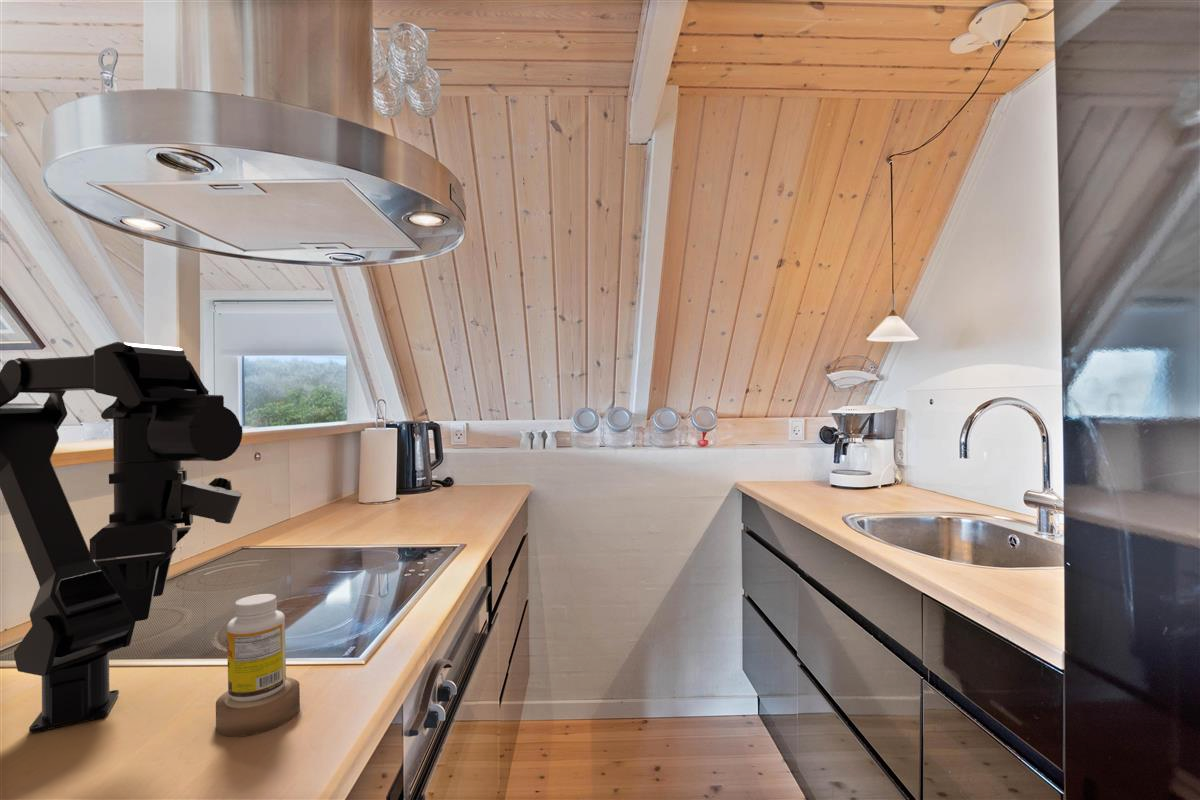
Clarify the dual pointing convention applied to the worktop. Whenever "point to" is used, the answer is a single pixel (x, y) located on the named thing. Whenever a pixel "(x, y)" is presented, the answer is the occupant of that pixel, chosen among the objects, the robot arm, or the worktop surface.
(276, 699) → the walnut stand
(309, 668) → the worktop surface
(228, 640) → the supplement bottle
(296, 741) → the worktop surface
